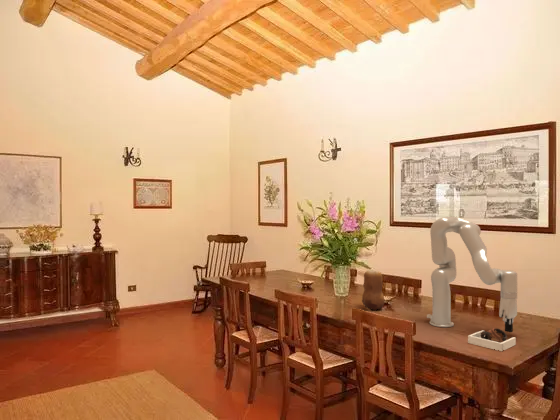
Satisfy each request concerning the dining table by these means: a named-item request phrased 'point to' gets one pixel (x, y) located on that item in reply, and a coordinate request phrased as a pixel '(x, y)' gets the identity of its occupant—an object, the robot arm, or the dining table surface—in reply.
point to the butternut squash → (373, 290)
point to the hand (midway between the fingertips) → (508, 331)
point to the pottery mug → (494, 335)
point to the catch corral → (490, 342)
